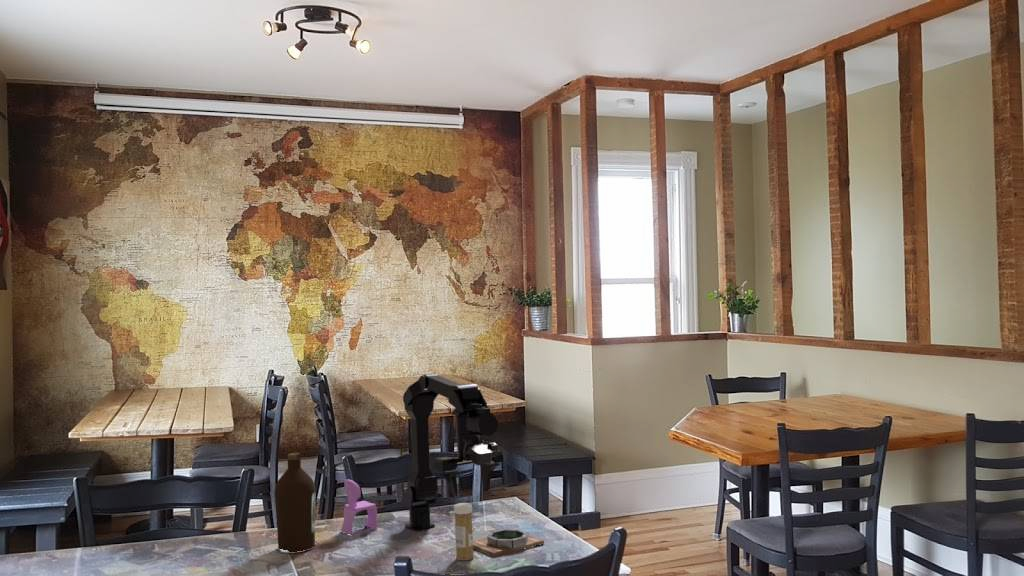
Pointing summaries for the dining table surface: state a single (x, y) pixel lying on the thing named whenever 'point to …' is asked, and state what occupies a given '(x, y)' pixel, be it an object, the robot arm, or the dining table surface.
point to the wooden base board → (492, 551)
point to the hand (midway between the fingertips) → (470, 493)
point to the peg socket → (507, 538)
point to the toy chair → (357, 508)
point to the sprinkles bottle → (463, 531)
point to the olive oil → (295, 507)
